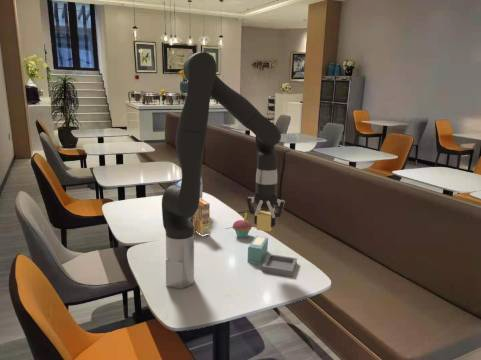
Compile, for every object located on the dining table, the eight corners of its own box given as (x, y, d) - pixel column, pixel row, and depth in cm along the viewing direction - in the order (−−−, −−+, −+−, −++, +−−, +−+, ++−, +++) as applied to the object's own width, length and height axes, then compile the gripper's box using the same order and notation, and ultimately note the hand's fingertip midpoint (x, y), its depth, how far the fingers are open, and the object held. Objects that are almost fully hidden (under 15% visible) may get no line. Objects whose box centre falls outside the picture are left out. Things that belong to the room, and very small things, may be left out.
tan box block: (270, 231, 135) (270, 215, 133) (256, 229, 136) (257, 213, 135) (272, 227, 139) (273, 211, 137) (259, 225, 140) (259, 210, 138)
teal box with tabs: (260, 264, 142) (260, 248, 141) (247, 261, 144) (248, 247, 142) (267, 251, 154) (268, 237, 152) (255, 249, 155) (256, 235, 153)
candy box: (210, 235, 168) (210, 203, 164) (201, 237, 165) (201, 204, 161) (200, 229, 175) (201, 197, 171) (192, 231, 172) (192, 199, 169)
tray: (291, 276, 134) (292, 271, 133) (261, 271, 137) (262, 266, 136) (296, 263, 144) (296, 258, 143) (268, 258, 147) (268, 253, 146)
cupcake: (254, 234, 170) (255, 209, 167) (245, 241, 163) (246, 214, 160) (238, 230, 174) (239, 206, 171) (228, 236, 167) (229, 211, 164)
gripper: (244, 181, 131) (243, 227, 136) (284, 185, 128) (282, 232, 132) (249, 176, 138) (248, 220, 143) (288, 180, 135) (286, 224, 139)
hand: (264, 225), depth 137 cm, fingers closed on tan box block, 5 cm apart
